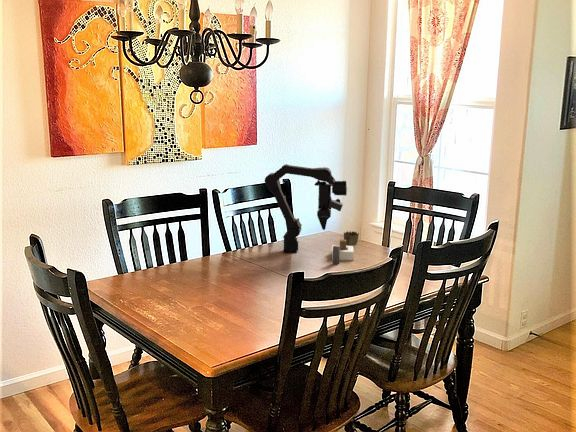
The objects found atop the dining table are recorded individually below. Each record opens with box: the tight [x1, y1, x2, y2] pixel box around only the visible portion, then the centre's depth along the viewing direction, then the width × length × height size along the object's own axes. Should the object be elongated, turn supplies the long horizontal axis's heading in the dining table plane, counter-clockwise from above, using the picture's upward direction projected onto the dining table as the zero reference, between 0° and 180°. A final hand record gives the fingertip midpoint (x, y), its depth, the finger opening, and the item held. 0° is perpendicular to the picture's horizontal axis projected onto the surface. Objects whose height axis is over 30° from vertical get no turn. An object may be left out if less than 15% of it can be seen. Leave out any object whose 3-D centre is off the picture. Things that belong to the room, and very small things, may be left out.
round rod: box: [332, 245, 340, 266], centre depth 264 cm, size 3×3×8 cm
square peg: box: [339, 238, 347, 250], centre depth 275 cm, size 3×3×8 cm
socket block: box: [331, 244, 355, 261], centre depth 275 cm, size 10×10×4 cm
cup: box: [343, 231, 360, 249], centre depth 288 cm, size 8×7×8 cm
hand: (324, 227), depth 279 cm, fingers open, 9 cm apart
